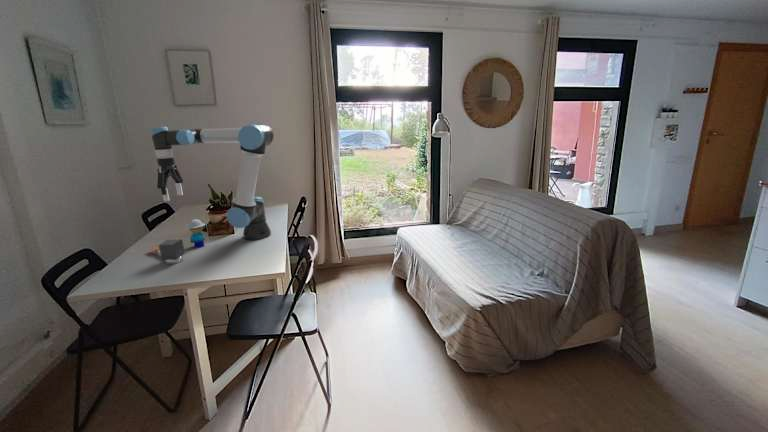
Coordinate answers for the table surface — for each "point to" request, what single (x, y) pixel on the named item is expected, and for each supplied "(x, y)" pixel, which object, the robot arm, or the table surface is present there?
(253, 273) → the table surface
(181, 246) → the dark charcoal cube
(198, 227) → the toy
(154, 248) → the ratchet
